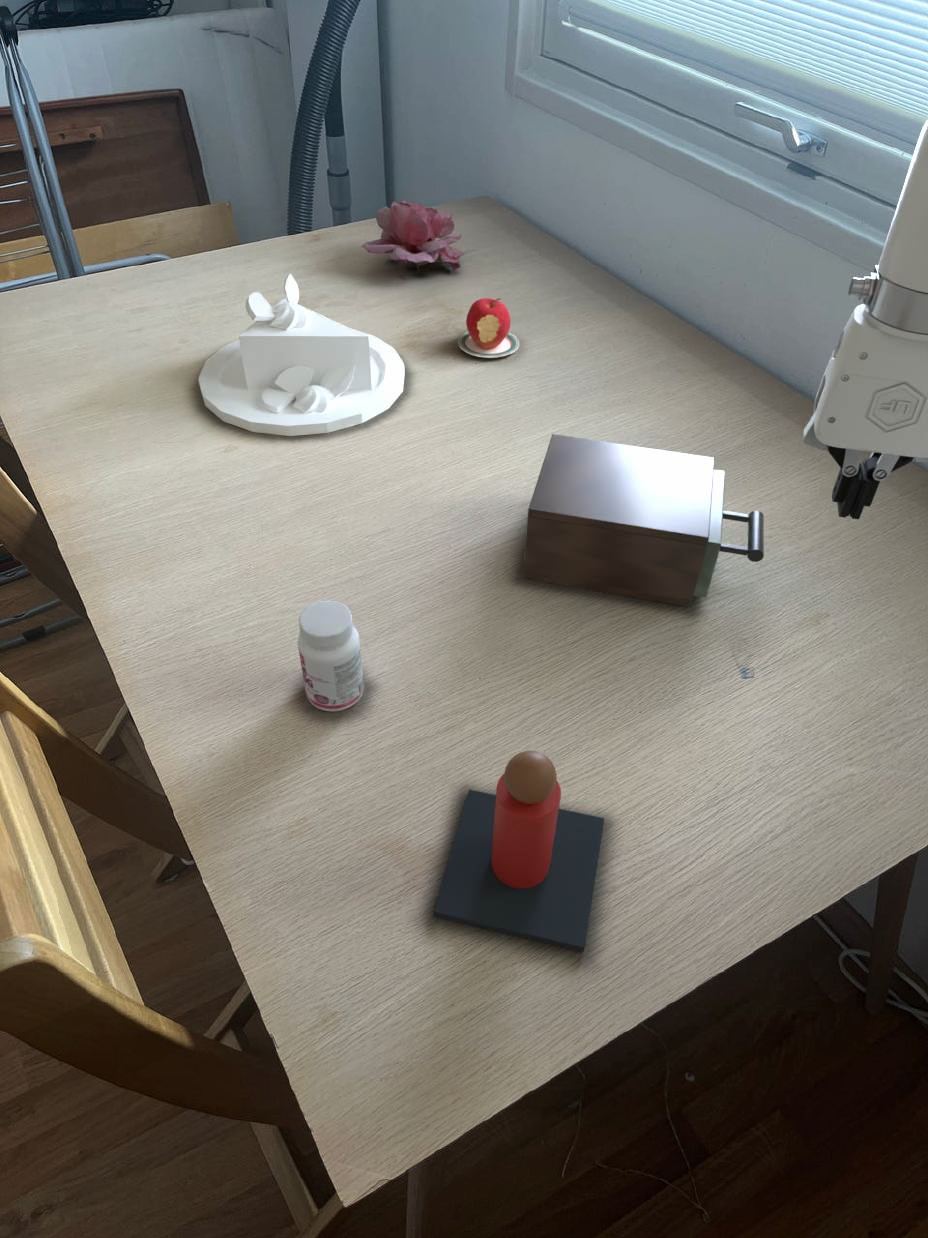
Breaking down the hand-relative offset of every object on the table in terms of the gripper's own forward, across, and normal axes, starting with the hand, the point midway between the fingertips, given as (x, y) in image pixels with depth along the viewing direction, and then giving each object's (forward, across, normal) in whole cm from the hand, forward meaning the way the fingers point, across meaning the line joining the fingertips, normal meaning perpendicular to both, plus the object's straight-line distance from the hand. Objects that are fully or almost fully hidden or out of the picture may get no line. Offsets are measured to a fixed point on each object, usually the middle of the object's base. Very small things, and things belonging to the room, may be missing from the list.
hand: (847, 508), depth 76 cm
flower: (+7, -56, +60) cm, 82 cm away
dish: (+8, -60, +24) cm, 65 cm away
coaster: (+10, -21, -35) cm, 42 cm away
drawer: (+8, -15, +1) cm, 17 cm away
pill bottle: (+9, -39, -23) cm, 47 cm away
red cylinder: (+9, -22, -35) cm, 42 cm away
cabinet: (+9, -19, +1) cm, 21 cm away
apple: (+8, -40, +39) cm, 56 cm away
